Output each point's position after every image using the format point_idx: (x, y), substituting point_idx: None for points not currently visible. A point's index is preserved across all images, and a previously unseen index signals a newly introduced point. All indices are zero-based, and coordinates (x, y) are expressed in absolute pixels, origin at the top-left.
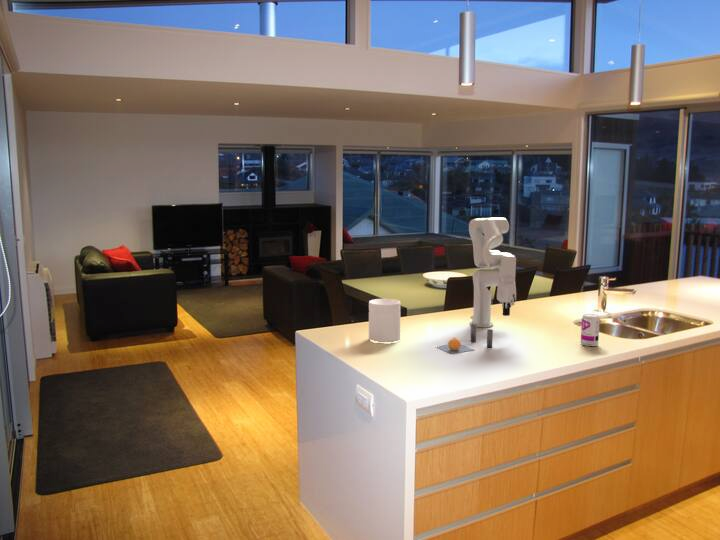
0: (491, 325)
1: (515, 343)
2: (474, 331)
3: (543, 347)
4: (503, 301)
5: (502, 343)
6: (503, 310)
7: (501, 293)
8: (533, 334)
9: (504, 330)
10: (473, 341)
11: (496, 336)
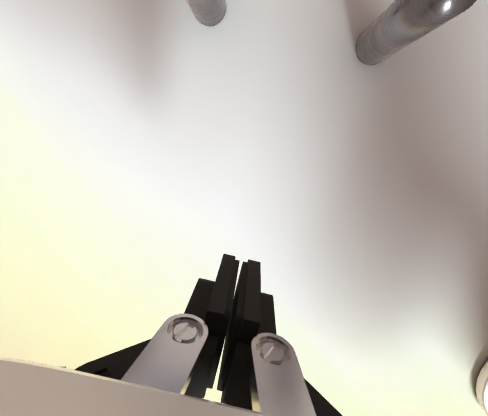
0: (479, 390)
1: (186, 213)
2: (394, 3)
3: (61, 253)
4: (162, 399)
5: (228, 160)
6: (245, 291)
7: None
8: None
9: (382, 371)
10: (364, 31)
11: (342, 253)
